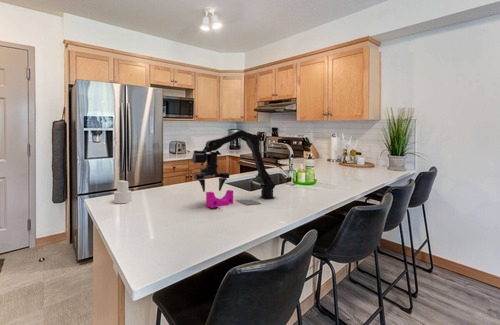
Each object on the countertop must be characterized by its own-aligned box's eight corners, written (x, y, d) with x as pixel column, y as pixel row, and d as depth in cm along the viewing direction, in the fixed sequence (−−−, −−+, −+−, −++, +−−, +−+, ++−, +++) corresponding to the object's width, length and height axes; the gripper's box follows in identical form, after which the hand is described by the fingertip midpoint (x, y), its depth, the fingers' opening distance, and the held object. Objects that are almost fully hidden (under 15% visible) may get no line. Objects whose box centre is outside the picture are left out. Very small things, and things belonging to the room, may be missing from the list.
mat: (246, 199, 165) (246, 198, 165) (261, 204, 149) (261, 202, 149) (233, 200, 160) (233, 199, 160) (246, 205, 144) (246, 204, 144)
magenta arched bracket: (211, 207, 139) (211, 193, 139) (206, 205, 144) (206, 192, 144) (235, 204, 148) (235, 191, 148) (229, 203, 153) (229, 190, 153)
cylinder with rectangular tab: (134, 201, 153) (133, 181, 153) (117, 204, 146) (117, 182, 146) (127, 200, 159) (127, 180, 159) (111, 201, 153) (111, 181, 152)
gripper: (222, 162, 157) (222, 188, 158) (191, 162, 149) (191, 190, 149) (229, 163, 148) (229, 191, 148) (197, 163, 139) (197, 193, 139)
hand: (211, 191), depth 146 cm, fingers open, 9 cm apart
